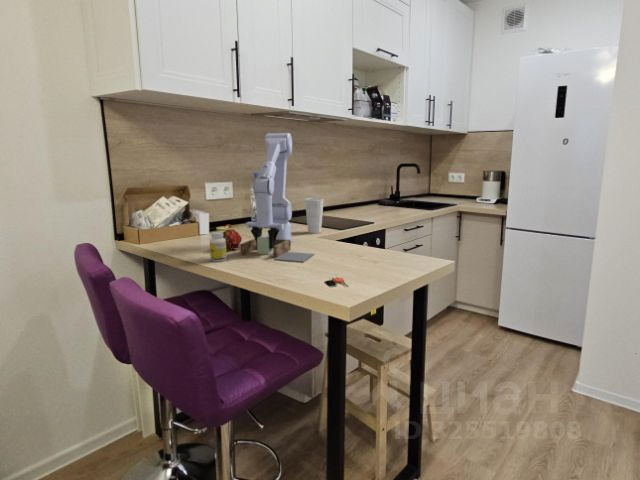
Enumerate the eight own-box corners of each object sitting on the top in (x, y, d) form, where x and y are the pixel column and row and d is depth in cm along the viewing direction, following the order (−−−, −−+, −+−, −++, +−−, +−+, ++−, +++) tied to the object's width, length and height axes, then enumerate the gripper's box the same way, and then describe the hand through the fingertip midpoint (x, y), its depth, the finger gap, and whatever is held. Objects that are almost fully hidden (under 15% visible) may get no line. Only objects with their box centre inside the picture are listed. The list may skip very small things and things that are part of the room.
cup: (301, 232, 193) (301, 199, 190) (315, 229, 199) (315, 197, 195) (313, 234, 187) (313, 200, 184) (327, 232, 192) (327, 199, 189)
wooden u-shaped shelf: (256, 247, 163) (256, 237, 162) (290, 250, 159) (290, 239, 158) (240, 254, 152) (240, 244, 151) (276, 257, 147) (276, 246, 146)
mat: (286, 252, 154) (286, 251, 154) (314, 254, 151) (314, 253, 151) (273, 260, 144) (273, 258, 144) (303, 262, 141) (303, 261, 140)
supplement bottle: (210, 258, 146) (208, 231, 144) (225, 257, 148) (224, 230, 146) (211, 262, 142) (210, 234, 139) (228, 261, 143) (226, 233, 141)
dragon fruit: (223, 257, 155) (233, 254, 167) (241, 244, 154) (249, 241, 166) (210, 238, 155) (220, 236, 167) (228, 225, 154) (237, 224, 166)
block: (263, 250, 158) (262, 235, 156) (274, 251, 156) (273, 236, 155) (257, 253, 153) (257, 237, 152) (268, 254, 152) (268, 238, 151)
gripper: (241, 212, 150) (243, 248, 153) (277, 213, 145) (279, 251, 148) (250, 209, 157) (252, 244, 160) (286, 211, 152) (286, 247, 155)
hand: (265, 247), depth 154 cm, fingers closed on block, 4 cm apart
